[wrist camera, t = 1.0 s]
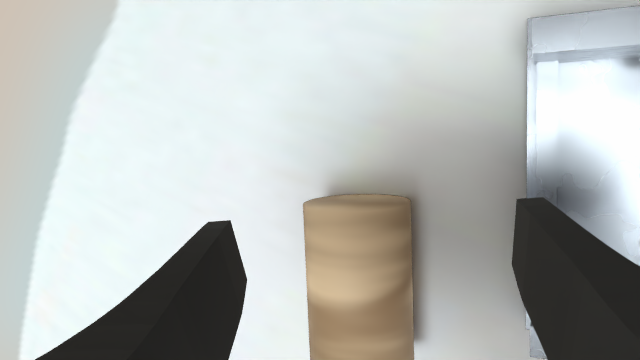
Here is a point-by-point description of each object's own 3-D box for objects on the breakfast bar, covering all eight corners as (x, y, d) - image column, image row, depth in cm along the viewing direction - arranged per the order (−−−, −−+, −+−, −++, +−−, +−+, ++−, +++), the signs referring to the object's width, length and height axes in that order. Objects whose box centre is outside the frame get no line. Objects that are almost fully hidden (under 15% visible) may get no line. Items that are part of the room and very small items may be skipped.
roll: (425, 345, 26) (395, 395, 22) (336, 330, 29) (291, 372, 24) (423, 195, 25) (390, 214, 21) (330, 193, 28) (283, 209, 23)
